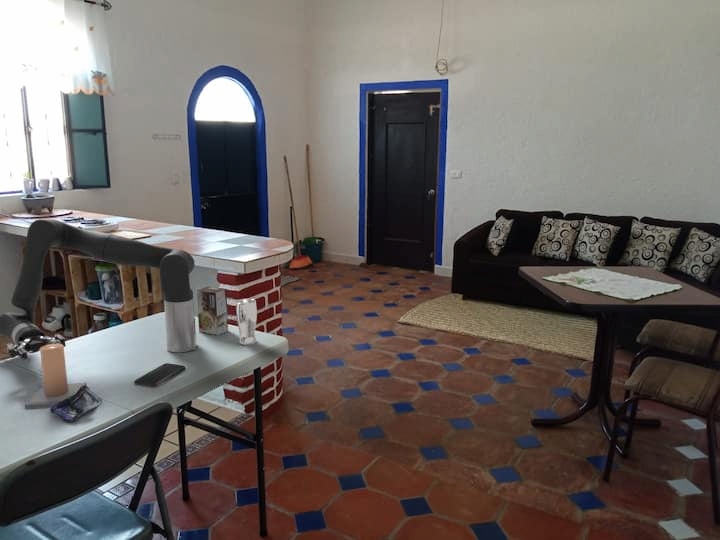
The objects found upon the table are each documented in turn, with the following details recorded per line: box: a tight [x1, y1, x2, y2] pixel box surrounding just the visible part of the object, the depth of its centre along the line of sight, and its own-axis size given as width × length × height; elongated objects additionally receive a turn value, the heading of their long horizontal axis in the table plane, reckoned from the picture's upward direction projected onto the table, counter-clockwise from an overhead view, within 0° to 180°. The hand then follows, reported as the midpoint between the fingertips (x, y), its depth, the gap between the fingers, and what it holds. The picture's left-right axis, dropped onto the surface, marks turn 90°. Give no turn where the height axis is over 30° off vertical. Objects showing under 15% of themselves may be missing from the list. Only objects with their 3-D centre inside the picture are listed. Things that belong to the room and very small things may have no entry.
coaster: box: [24, 382, 88, 409], centre depth 149 cm, size 12×12×1 cm
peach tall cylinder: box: [39, 343, 69, 397], centre depth 148 cm, size 6×6×13 cm
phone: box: [133, 362, 187, 388], centre depth 164 cm, size 8×1×15 cm
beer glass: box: [235, 298, 258, 346], centre depth 192 cm, size 7×7×15 cm
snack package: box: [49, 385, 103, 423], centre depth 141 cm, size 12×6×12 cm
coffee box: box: [196, 286, 229, 336], centre depth 202 cm, size 9×6×16 cm
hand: (43, 352), depth 155 cm, fingers open, 8 cm apart
